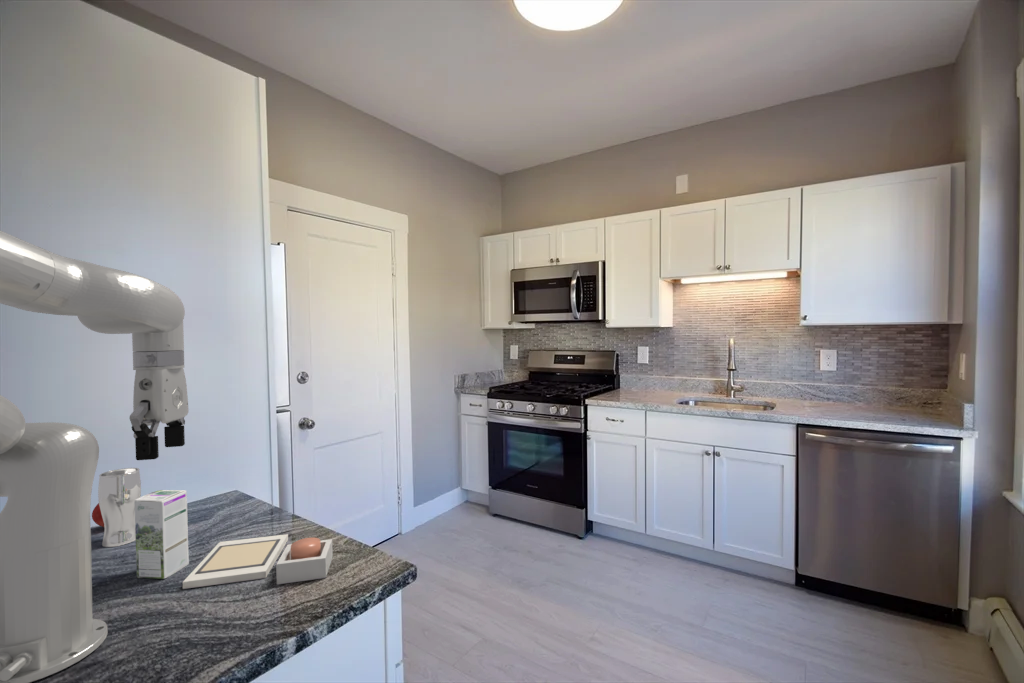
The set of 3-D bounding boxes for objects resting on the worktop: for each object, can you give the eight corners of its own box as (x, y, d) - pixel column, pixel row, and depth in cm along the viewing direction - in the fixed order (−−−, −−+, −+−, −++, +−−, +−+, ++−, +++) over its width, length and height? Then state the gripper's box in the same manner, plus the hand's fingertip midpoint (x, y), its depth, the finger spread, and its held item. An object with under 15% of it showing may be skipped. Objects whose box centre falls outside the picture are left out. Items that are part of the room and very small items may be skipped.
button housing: (325, 577, 79) (325, 558, 79) (276, 584, 78) (276, 564, 78) (332, 556, 87) (332, 539, 87) (288, 562, 85) (287, 544, 85)
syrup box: (190, 564, 86) (188, 488, 86) (163, 580, 80) (161, 499, 80) (163, 563, 86) (161, 488, 86) (134, 579, 80) (132, 499, 80)
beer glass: (137, 531, 102) (136, 465, 102) (145, 539, 97) (144, 470, 97) (96, 542, 96) (95, 473, 96) (102, 551, 92) (101, 478, 92)
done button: (318, 560, 81) (317, 547, 81) (287, 564, 79) (287, 551, 79) (322, 548, 85) (322, 536, 85) (294, 552, 84) (294, 539, 84)
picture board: (266, 577, 80) (265, 570, 80) (182, 588, 77) (182, 581, 77) (288, 539, 95) (288, 533, 95) (219, 547, 92) (219, 541, 92)
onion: (85, 532, 102) (85, 497, 102) (114, 522, 107) (114, 489, 107) (103, 534, 100) (102, 499, 100) (131, 524, 106) (131, 490, 106)
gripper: (158, 362, 76) (160, 463, 76) (202, 358, 92) (204, 440, 93) (105, 364, 74) (108, 467, 74) (160, 359, 91) (162, 443, 91)
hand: (161, 452), depth 83 cm, fingers open, 9 cm apart
